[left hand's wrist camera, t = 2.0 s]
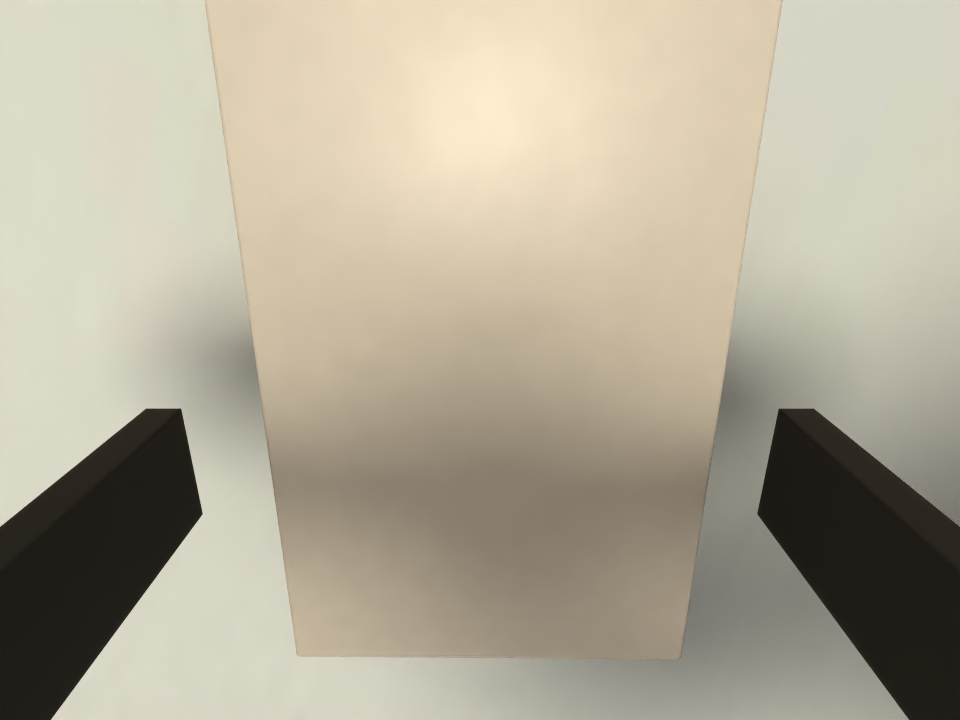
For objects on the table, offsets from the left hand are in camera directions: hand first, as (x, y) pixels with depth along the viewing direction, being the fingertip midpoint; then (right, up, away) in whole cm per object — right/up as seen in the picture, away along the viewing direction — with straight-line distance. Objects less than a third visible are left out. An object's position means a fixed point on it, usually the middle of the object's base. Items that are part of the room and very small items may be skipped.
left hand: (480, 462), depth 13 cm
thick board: (0, +28, -3) cm, 28 cm away
